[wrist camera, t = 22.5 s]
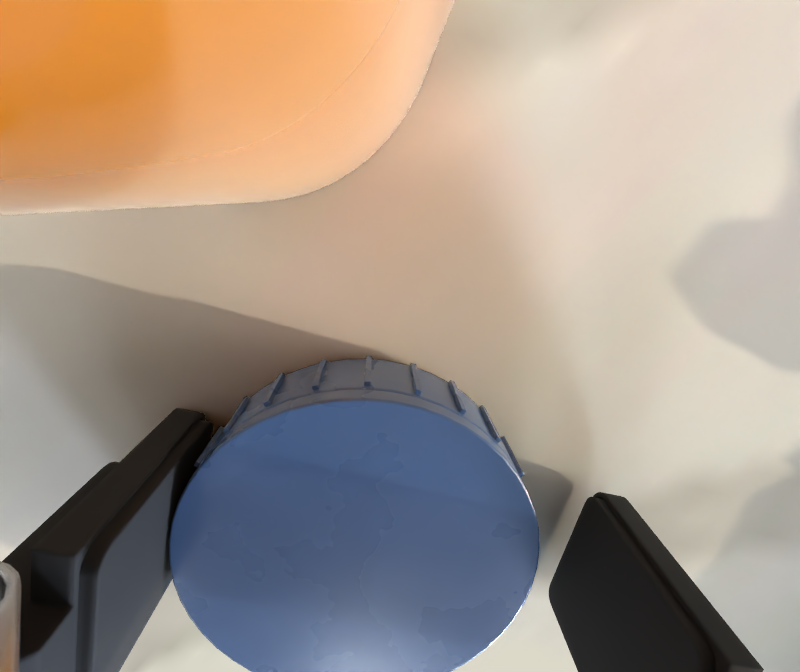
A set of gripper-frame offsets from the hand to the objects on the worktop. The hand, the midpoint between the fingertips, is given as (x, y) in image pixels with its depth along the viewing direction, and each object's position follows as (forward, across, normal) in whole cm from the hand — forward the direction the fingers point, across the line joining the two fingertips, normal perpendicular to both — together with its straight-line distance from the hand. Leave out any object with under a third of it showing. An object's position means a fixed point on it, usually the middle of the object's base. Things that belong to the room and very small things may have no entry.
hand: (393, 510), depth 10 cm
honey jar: (0, +5, -9) cm, 10 cm away
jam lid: (-1, +1, 0) cm, 2 cm away
